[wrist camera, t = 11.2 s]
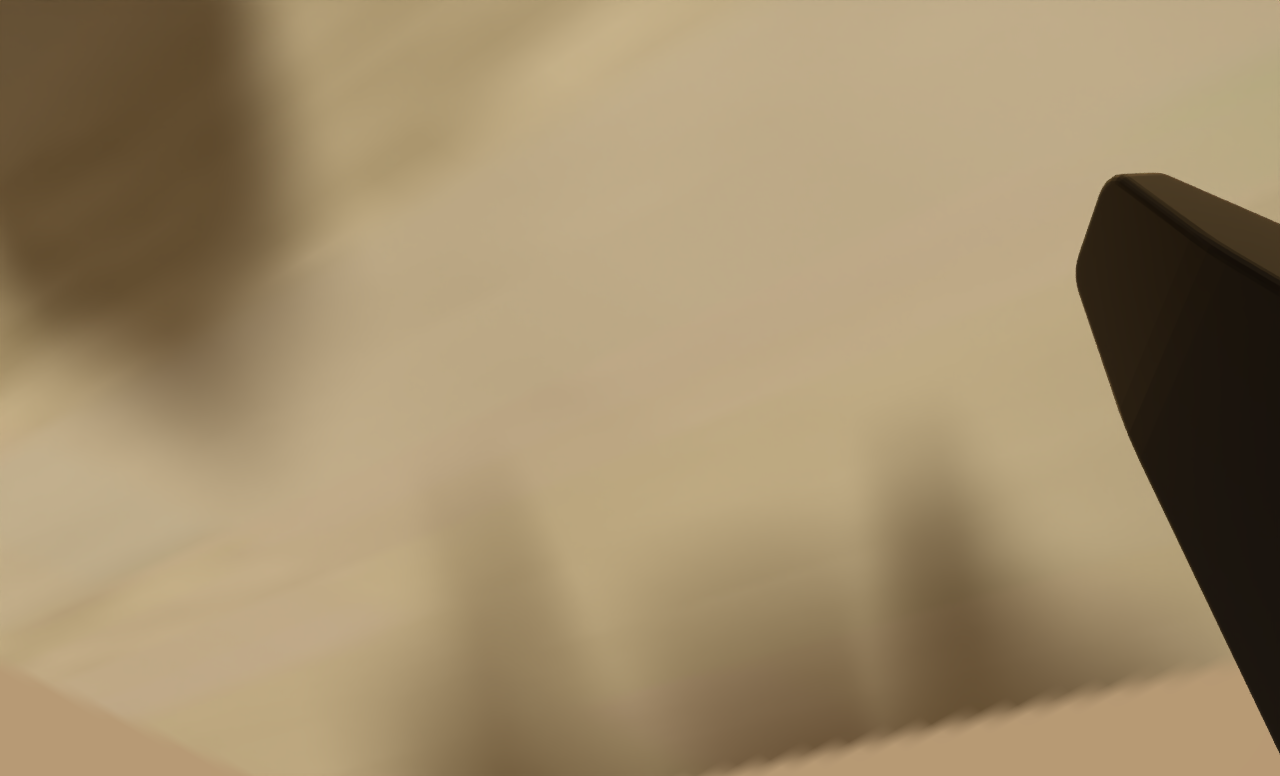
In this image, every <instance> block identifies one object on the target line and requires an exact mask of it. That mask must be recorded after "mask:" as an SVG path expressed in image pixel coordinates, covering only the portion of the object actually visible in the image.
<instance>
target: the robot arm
mask: <svg viewBox="0 0 1280 776" xmlns="http://www.w3.org/2000/svg"><path fill="white" fill-rule="evenodd" d="M1076 282H1077V288H1078V292H1079V295H1080V298H1081V301H1082V304H1083V307H1084V310H1085V312H1086V315H1087V318H1088V321H1089V324H1090V327H1091V330H1092V333H1093V336H1094V339H1095V342H1096V345H1097V348H1098V351H1099V354H1100V357H1101V360H1102V363H1103V366H1104V369H1105V371H1106V374H1107V377H1108V380H1109V383H1110V386H1111V389H1112V392H1113V395H1114V398H1115V401H1116V404H1117V407H1118V410H1119V413H1120V415H1121V418H1122V420H1123V423H1124V426H1125V428H1126V431H1127V433H1128V436H1129V438H1130V441H1131V443H1132V445H1133V447H1134V450H1135V452H1136V454H1137V456H1138V459H1139V461H1140V463H1141V465H1142V467H1143V469H1144V471H1145V473H1146V475H1147V478H1148V480H1149V482H1150V484H1151V486H1152V488H1153V490H1154V492H1155V494H1156V496H1157V498H1158V501H1159V503H1160V505H1161V507H1162V509H1163V511H1164V513H1165V515H1166V517H1167V519H1168V521H1169V523H1170V526H1171V528H1172V530H1173V532H1174V534H1175V536H1176V538H1177V540H1178V542H1179V544H1180V546H1181V549H1182V551H1183V553H1184V555H1185V557H1186V559H1187V561H1188V563H1189V565H1190V567H1191V569H1192V572H1193V574H1194V576H1195V578H1196V580H1197V582H1198V584H1199V586H1200V588H1201V590H1202V592H1203V594H1204V597H1205V599H1206V601H1207V603H1208V605H1209V607H1210V609H1211V611H1212V613H1213V615H1214V617H1215V620H1216V622H1217V624H1218V626H1219V628H1220V630H1221V632H1222V634H1223V636H1224V638H1225V640H1226V643H1227V645H1228V647H1229V649H1230V651H1231V653H1232V655H1233V657H1234V659H1235V661H1236V663H1237V665H1238V668H1239V670H1240V672H1241V674H1242V676H1243V678H1244V680H1245V682H1246V684H1247V686H1248V688H1249V690H1250V692H1251V695H1252V697H1253V699H1254V701H1255V703H1256V705H1257V707H1258V709H1259V711H1260V713H1261V716H1262V717H1263V720H1264V722H1265V724H1266V726H1267V728H1268V730H1269V732H1270V734H1271V736H1272V738H1273V741H1274V743H1275V745H1276V747H1277V749H1278V751H1279V753H1280V224H1279V223H1277V222H1274V221H1272V220H1270V219H1267V218H1265V217H1263V216H1261V215H1258V214H1256V213H1254V212H1251V211H1249V210H1247V209H1244V208H1242V207H1240V206H1238V205H1235V204H1233V203H1231V202H1228V201H1226V200H1224V199H1221V198H1219V197H1217V196H1215V195H1212V194H1210V193H1208V192H1205V191H1203V190H1201V189H1198V188H1196V187H1194V186H1192V185H1189V184H1187V183H1185V182H1182V181H1180V180H1178V179H1175V178H1173V177H1171V176H1169V175H1166V174H1162V173H1135V174H1119V175H1115V176H1114V177H1112V178H1111V179H1109V180H1108V181H1107V182H1106V183H1105V185H1104V186H1103V188H1102V190H1101V192H1100V194H1099V197H1098V200H1097V203H1096V206H1095V209H1094V212H1093V214H1092V217H1091V220H1090V223H1089V226H1088V229H1087V232H1086V235H1085V238H1084V241H1083V244H1082V247H1081V250H1080V253H1079V256H1078V260H1077V265H1076Z"/></svg>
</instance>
